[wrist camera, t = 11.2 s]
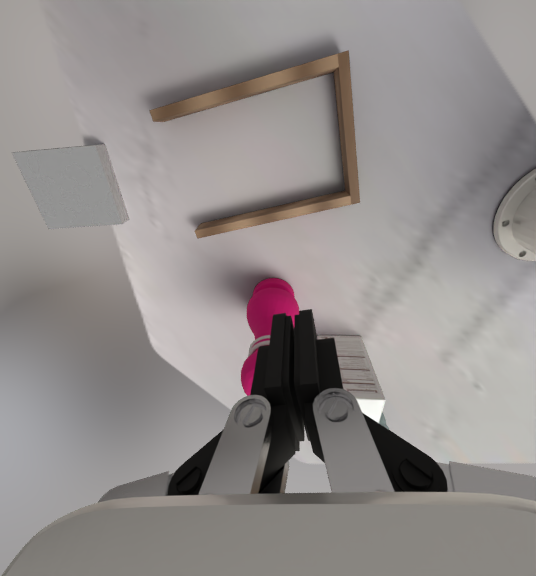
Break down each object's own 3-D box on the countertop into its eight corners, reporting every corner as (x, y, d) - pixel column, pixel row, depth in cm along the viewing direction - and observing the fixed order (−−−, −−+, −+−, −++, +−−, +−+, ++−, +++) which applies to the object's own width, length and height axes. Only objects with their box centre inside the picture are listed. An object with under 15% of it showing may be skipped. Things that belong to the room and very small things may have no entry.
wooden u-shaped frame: (342, 57, 28) (348, 50, 26) (354, 196, 35) (359, 202, 32) (160, 111, 31) (149, 110, 29) (203, 230, 38) (197, 238, 35)
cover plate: (107, 143, 34) (95, 145, 31) (131, 218, 38) (122, 224, 36) (28, 150, 34) (11, 152, 32) (61, 223, 39) (48, 228, 37)
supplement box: (355, 367, 50) (376, 436, 39) (312, 366, 50) (321, 434, 39) (362, 334, 46) (387, 400, 35) (316, 333, 46) (327, 398, 35)
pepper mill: (253, 270, 41) (233, 378, 23) (302, 279, 41) (318, 390, 24) (246, 311, 44) (224, 430, 27) (291, 318, 45) (298, 440, 27)
